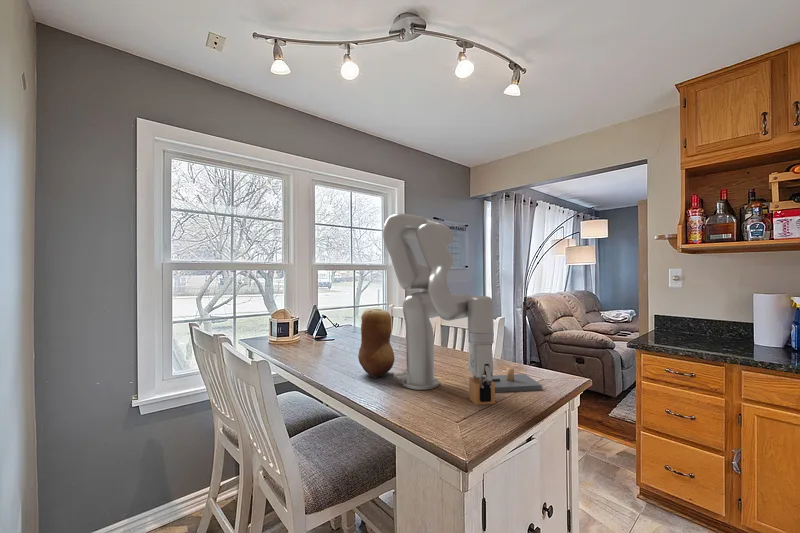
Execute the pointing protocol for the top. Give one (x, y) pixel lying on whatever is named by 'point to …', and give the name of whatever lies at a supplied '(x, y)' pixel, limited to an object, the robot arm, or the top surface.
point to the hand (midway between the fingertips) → (481, 396)
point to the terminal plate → (514, 382)
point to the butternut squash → (376, 342)
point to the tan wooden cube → (475, 391)
